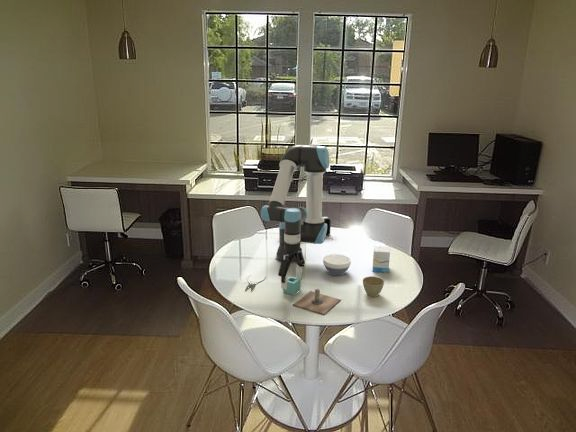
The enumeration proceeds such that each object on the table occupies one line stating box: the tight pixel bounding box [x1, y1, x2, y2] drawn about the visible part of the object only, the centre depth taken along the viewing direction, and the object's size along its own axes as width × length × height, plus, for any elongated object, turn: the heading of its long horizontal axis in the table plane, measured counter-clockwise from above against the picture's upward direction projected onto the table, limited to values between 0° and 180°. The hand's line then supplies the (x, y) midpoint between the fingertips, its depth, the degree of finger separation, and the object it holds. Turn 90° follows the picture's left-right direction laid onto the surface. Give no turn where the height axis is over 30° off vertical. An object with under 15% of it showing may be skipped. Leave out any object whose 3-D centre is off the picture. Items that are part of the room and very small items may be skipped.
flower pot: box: [362, 275, 385, 298], centre depth 213 cm, size 10×10×7 cm
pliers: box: [245, 282, 257, 292], centre depth 225 cm, size 10×1×20 cm
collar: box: [282, 275, 302, 296], centre depth 216 cm, size 6×6×6 cm
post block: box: [292, 288, 342, 316], centre depth 204 cm, size 16×16×7 cm
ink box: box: [372, 245, 391, 273], centre depth 242 cm, size 8×8×12 cm
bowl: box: [322, 253, 352, 276], centre depth 238 cm, size 14×14×8 cm
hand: (291, 283), depth 215 cm, fingers open, 13 cm apart
